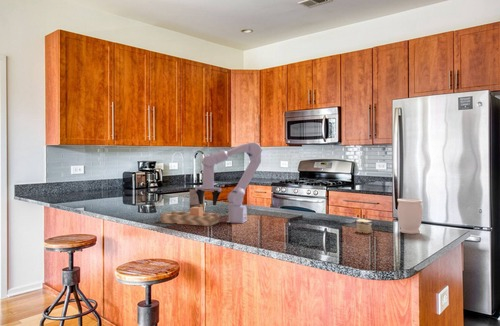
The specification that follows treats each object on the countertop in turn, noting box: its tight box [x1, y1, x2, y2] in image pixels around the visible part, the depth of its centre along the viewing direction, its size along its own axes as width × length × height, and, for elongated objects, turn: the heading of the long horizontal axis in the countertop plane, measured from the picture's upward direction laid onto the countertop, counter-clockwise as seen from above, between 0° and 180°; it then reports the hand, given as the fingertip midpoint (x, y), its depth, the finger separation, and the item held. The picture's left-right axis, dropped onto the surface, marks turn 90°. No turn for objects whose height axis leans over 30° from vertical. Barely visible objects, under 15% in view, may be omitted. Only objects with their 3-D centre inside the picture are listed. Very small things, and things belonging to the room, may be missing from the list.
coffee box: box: [189, 187, 206, 213], centre depth 218 cm, size 9×6×16 cm
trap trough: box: [160, 210, 220, 227], centre depth 198 cm, size 29×11×4 cm, turn 71°
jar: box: [396, 197, 423, 235], centre depth 170 cm, size 11×10×15 cm
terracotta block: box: [189, 207, 203, 216], centre depth 197 cm, size 5×5×5 cm
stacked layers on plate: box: [355, 218, 373, 234], centre depth 172 cm, size 10×9×6 cm
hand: (208, 204), depth 194 cm, fingers open, 7 cm apart
